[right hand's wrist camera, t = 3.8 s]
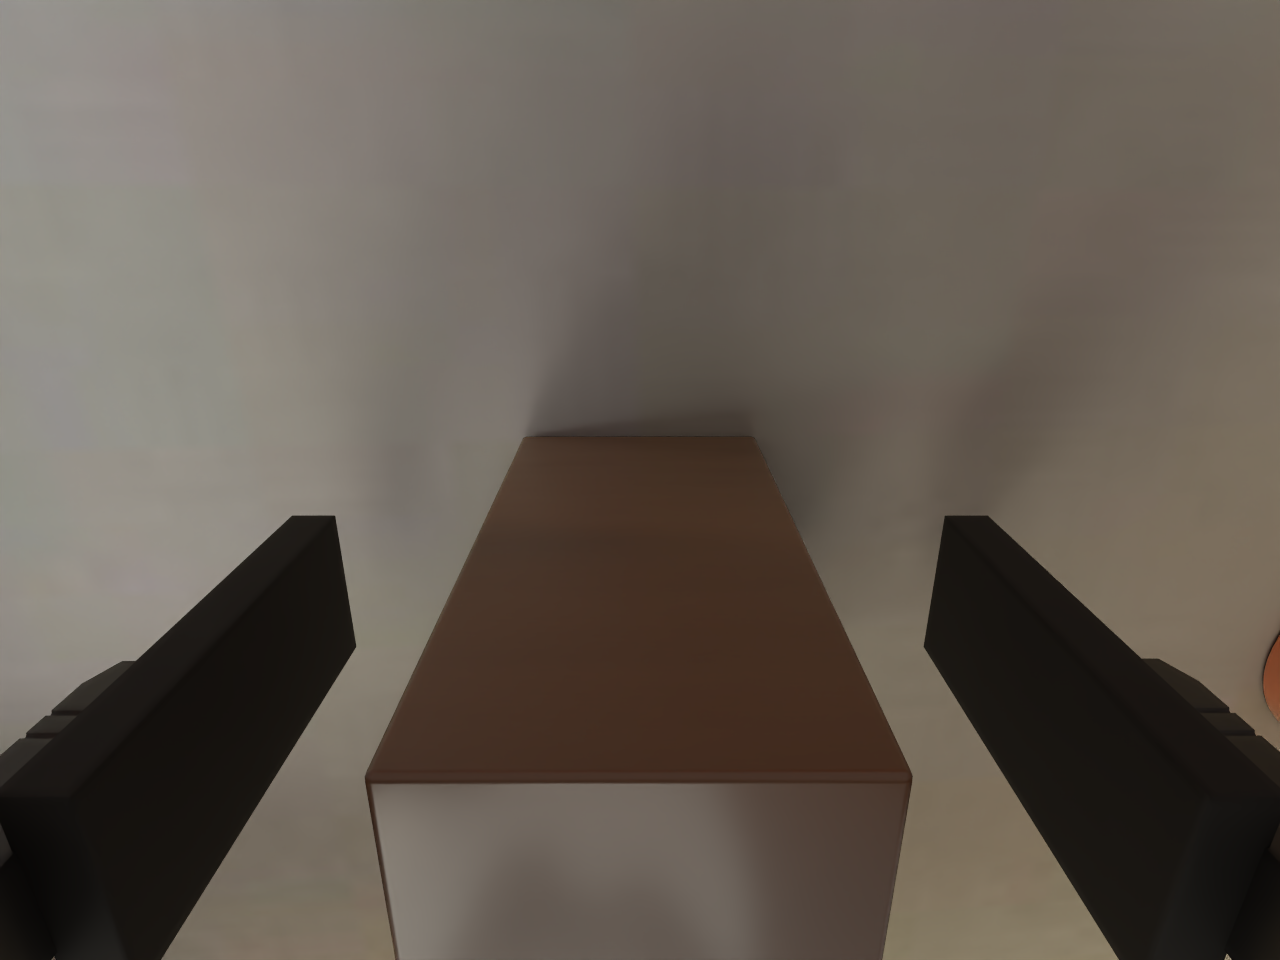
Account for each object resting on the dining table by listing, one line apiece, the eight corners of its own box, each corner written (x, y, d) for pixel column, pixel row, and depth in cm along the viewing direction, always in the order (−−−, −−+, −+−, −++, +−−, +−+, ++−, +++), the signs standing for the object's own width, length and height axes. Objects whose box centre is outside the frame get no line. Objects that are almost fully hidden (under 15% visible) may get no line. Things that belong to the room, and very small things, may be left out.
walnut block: (743, 634, 16) (858, 1123, 8) (534, 634, 16) (419, 1121, 8) (755, 435, 14) (916, 776, 6) (522, 435, 14) (359, 776, 6)
